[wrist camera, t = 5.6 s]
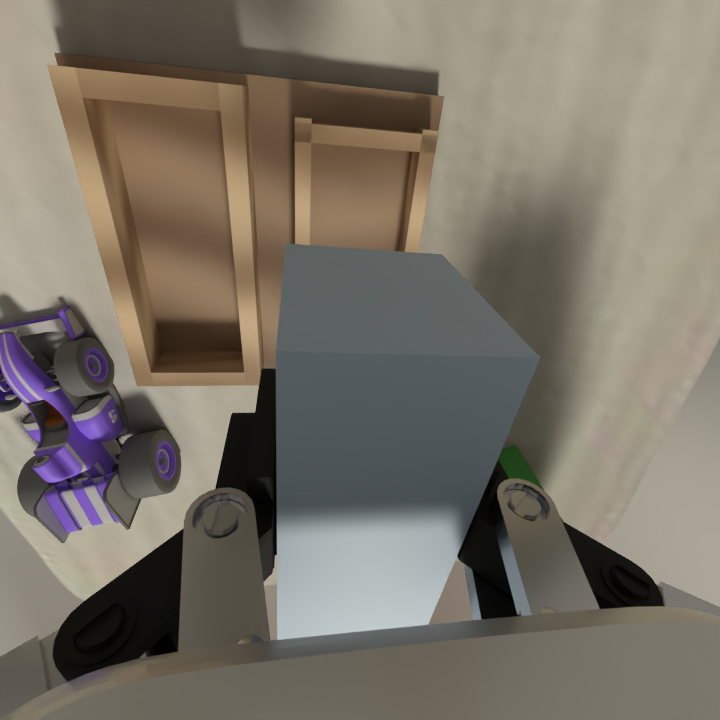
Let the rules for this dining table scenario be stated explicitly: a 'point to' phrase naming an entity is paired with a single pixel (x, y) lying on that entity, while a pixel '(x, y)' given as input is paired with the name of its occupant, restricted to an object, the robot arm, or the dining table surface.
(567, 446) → the dining table surface
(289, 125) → the jig
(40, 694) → the robot arm
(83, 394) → the toy race car
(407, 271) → the light blue block
